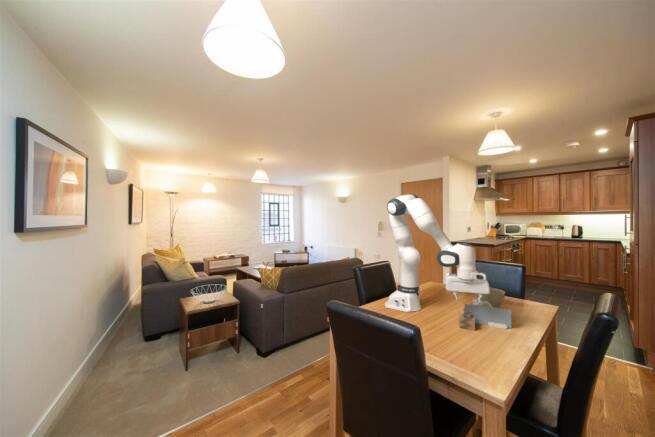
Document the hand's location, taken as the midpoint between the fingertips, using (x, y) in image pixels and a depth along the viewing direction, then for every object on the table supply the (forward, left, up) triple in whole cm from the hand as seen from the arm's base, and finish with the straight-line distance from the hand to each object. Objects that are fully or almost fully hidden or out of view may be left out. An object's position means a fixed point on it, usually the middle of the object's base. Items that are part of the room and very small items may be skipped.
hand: (467, 300), depth 133 cm
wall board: (+9, +9, -14) cm, 19 cm away
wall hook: (+10, +22, -14) cm, 28 cm away
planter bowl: (+13, +38, -14) cm, 43 cm away
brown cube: (0, 0, -14) cm, 14 cm away
